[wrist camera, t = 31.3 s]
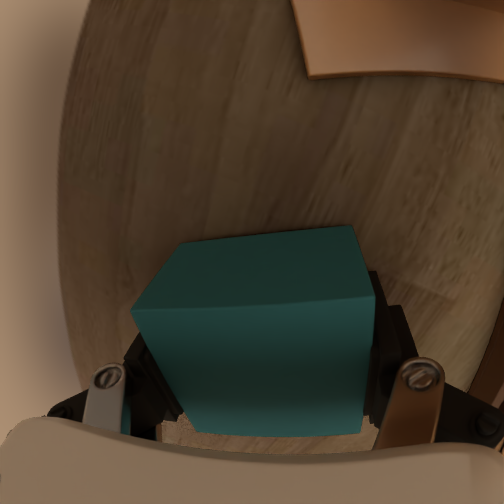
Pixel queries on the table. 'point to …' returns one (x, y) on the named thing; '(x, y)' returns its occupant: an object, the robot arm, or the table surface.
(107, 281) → the table surface
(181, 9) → the table surface
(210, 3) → the table surface
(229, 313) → the teal square block
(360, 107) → the table surface
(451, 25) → the stand
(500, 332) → the dark brown rectangular tray
